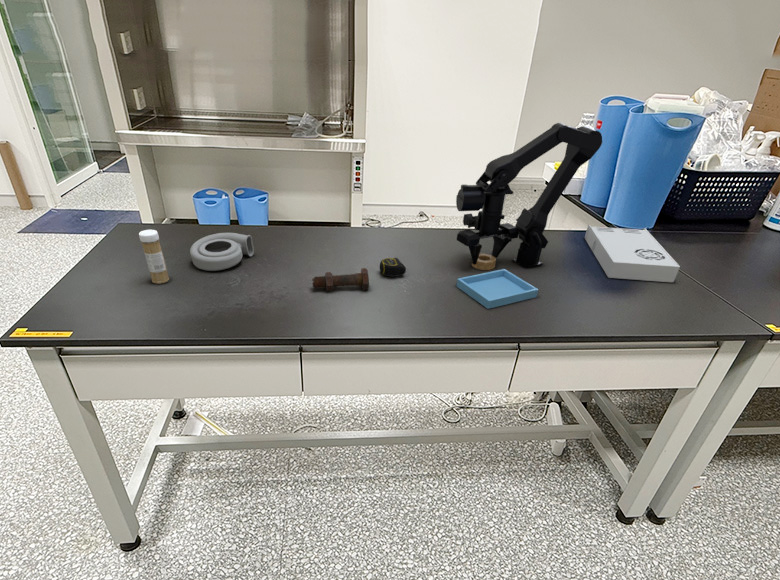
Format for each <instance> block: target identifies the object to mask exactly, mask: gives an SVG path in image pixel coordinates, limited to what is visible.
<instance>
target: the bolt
mask: <svg viewBox="0 0 780 580" xmlns="http://www.w3.org/2000/svg"><path fill="white" fill-rule="evenodd" d="M369 277H370V276H369V270H368V269H367V268H366V267H363V268H361V269H360V272H356V273H350V274H349V273H348V274H346V273H345V274H336V275H335V274H334V275H333V273H332V272H331V271H327V272H325V273H324V275H322V276H320V275H317V276H314V277H312V279H311V281H312V288H313V289H325V290H326V291H327V292H332V291H334V288H339V287H361V288H362V291H367V290H368V289H369V288H370V278H369Z"/></svg>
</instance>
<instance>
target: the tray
mask: <svg viewBox="0 0 780 580" xmlns="http://www.w3.org/2000/svg"><path fill="white" fill-rule="evenodd" d="M455 287H456V288H458V289H460V290H461V291H462V292H464V294H466V295H468V296H469V297H470V298H472V299H473V300H474V301H476V302H477V303H479V304H480V305H482V306H483V307H485V308H486V309H488V310H489V309H493V308H497V307H502V306H505V305H509V304H513V303H519V302H522V301H527V300H530V299H534V298H537V297H538V293H539V288H537V287H536V286H533V285H532V284H531V283H529V282H527V281H526V280H525V279H523V278H520V277H519V276H518V275H516V274H514V273H512V272H510V271H509V270H507V269H506V268H502V269H497V270H493V271H488V272H483V273H482V272H481V273H478V274H474V275H468V276H464V277H459V278H457V279H456V286H455Z"/></svg>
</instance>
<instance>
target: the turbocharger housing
mask: <svg viewBox="0 0 780 580" xmlns="http://www.w3.org/2000/svg"><path fill="white" fill-rule="evenodd" d="M189 253H190V257H191V261H192V264H193V265H194V266H195V267H196V268H197V269H200V270H203V271H208V272H216V271H218V272H219V271H224V270H226V269H231V268H232V267H234V266H237V265H238V264H239V263H240V262H241V261H242V258H243V255H245V256H248V257H253V255H254V254H255V247H254V242H253V237H252V235H250V234H248V235H247V234H242V233H236V232H218V233H214V234H209V235H206V236H203V237H202V238H200V239H198V240H196V241H195V242H194V243H193V244H192V245H191V247H190V249H189Z"/></svg>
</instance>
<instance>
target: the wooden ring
mask: <svg viewBox="0 0 780 580" xmlns="http://www.w3.org/2000/svg"><path fill="white" fill-rule="evenodd" d="M496 261H497V258H495V257H494V256H492V254H489V253H480V254H479V257H478V260H477V262H476V265H474V264H473V263H472V262H471V266H472V267H473V268H474V269H476V270H481V271H491V270H493V269H495V267H496Z"/></svg>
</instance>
